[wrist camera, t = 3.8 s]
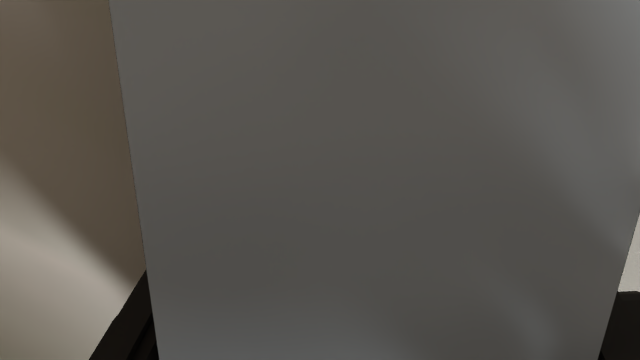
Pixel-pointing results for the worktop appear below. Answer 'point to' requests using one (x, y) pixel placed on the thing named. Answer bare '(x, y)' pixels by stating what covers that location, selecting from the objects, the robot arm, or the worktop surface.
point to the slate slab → (382, 174)
